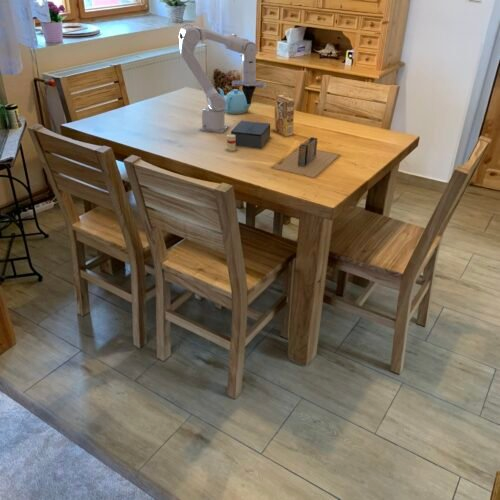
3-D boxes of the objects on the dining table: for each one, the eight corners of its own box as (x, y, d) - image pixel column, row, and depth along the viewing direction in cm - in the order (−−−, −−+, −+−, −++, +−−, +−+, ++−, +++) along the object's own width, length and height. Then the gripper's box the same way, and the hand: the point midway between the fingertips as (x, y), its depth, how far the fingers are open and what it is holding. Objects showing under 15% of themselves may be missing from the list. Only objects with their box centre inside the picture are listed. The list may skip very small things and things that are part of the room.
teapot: (223, 116, 237) (223, 94, 232) (217, 107, 249) (217, 86, 244) (253, 114, 240) (254, 93, 235) (245, 105, 253) (246, 85, 247)
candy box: (293, 135, 216) (295, 99, 208) (285, 136, 214) (287, 100, 206) (281, 129, 223) (282, 94, 214) (273, 130, 221) (274, 95, 212)
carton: (230, 145, 204) (230, 131, 201) (241, 134, 216) (241, 120, 213) (261, 149, 201) (261, 134, 198) (270, 137, 213) (270, 123, 210)
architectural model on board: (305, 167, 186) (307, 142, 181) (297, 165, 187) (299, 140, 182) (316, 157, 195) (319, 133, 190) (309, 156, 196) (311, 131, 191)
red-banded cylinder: (226, 151, 199) (226, 136, 196) (228, 148, 202) (228, 133, 198) (234, 152, 198) (234, 137, 195) (236, 149, 201) (236, 134, 198)
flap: (230, 131, 201) (230, 131, 201) (241, 121, 213) (241, 120, 213) (245, 133, 199) (245, 133, 199) (255, 122, 212) (255, 122, 211)
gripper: (230, 72, 210) (230, 105, 217) (263, 74, 207) (263, 107, 215) (234, 68, 216) (234, 100, 223) (267, 70, 213) (266, 102, 221)
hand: (248, 103), depth 219 cm, fingers closed
